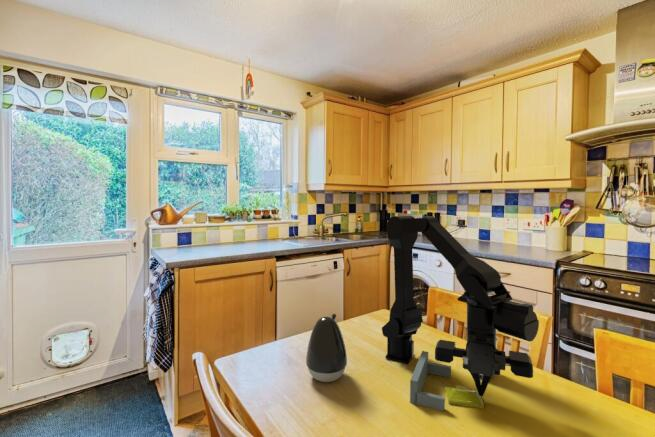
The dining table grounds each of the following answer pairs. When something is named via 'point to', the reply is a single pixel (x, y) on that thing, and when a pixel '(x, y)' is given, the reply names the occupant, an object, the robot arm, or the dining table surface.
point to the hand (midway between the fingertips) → (481, 395)
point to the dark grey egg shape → (326, 350)
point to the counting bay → (419, 379)
